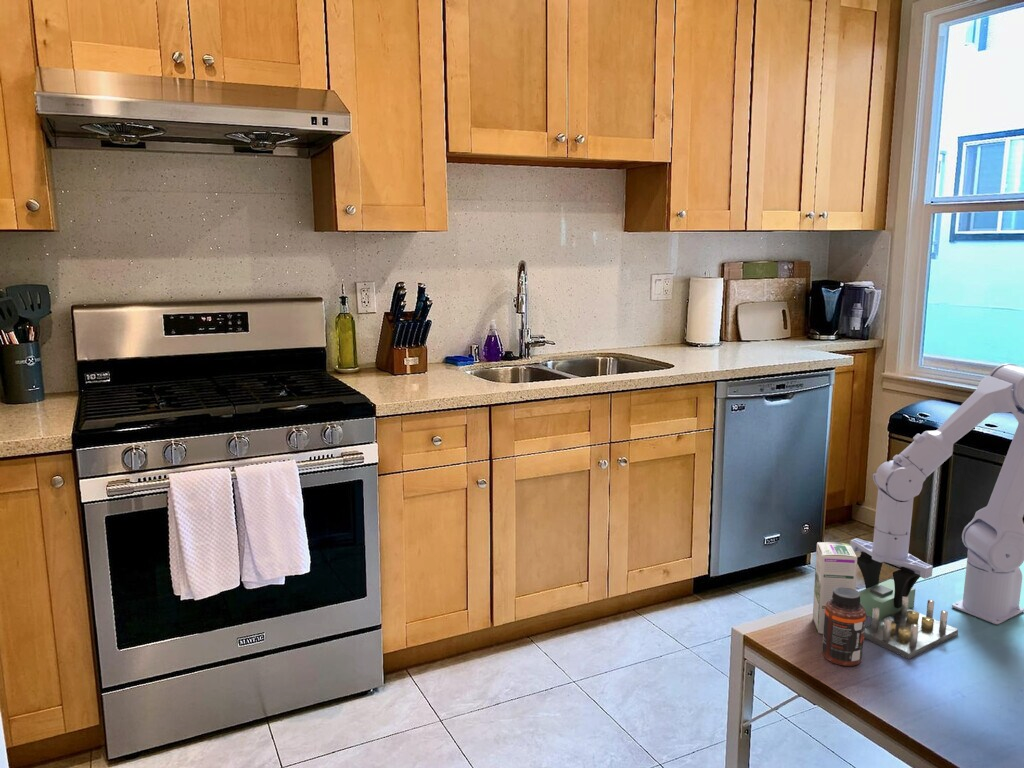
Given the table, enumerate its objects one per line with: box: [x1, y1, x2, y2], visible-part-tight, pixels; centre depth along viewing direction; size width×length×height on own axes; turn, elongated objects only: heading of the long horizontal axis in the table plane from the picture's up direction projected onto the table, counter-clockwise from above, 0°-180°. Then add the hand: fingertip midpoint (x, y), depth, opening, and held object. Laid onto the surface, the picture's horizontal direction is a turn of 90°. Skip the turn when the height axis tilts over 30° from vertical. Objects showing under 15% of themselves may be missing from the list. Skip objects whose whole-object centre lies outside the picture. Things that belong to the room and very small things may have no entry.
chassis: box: [864, 595, 959, 660], centre depth 130 cm, size 14×9×4 cm, turn 122°
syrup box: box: [812, 541, 858, 635], centre depth 132 cm, size 6×6×14 cm
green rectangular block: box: [858, 578, 916, 620], centre depth 139 cm, size 10×5×4 cm, turn 122°
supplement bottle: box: [822, 587, 867, 667], centre depth 123 cm, size 6×6×11 cm
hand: (885, 600), depth 139 cm, fingers closed on green rectangular block, 5 cm apart
